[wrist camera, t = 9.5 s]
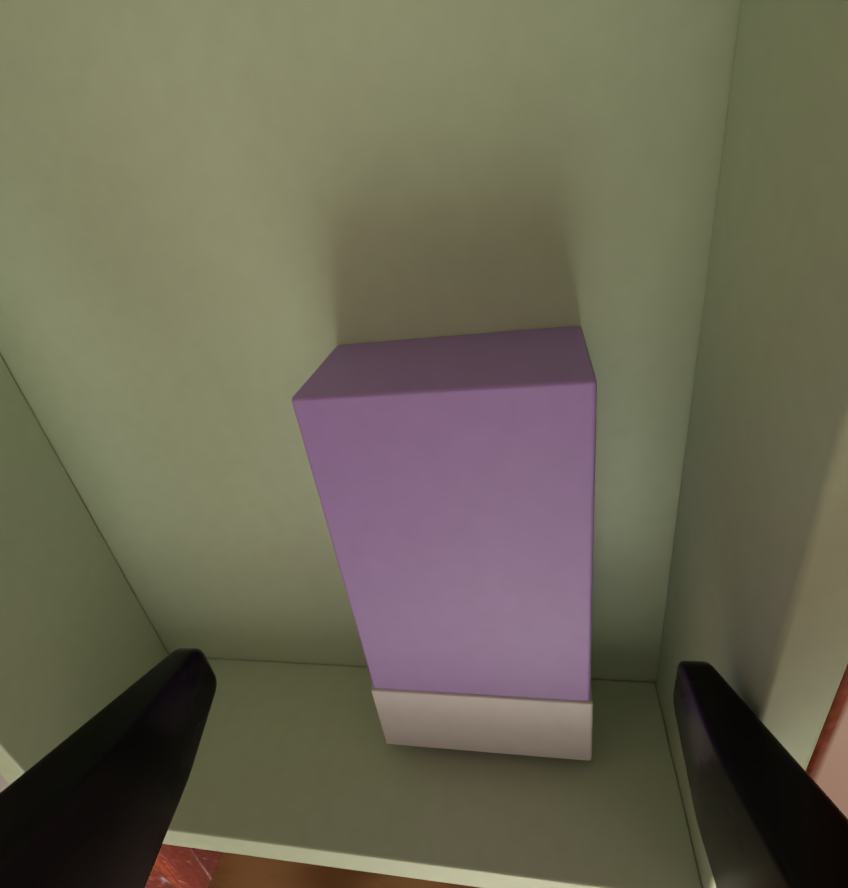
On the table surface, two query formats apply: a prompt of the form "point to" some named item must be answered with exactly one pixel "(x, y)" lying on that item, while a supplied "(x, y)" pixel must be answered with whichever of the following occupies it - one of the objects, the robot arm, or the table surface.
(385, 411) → the chocolate bar
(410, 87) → the tray
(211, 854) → the table surface
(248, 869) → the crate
